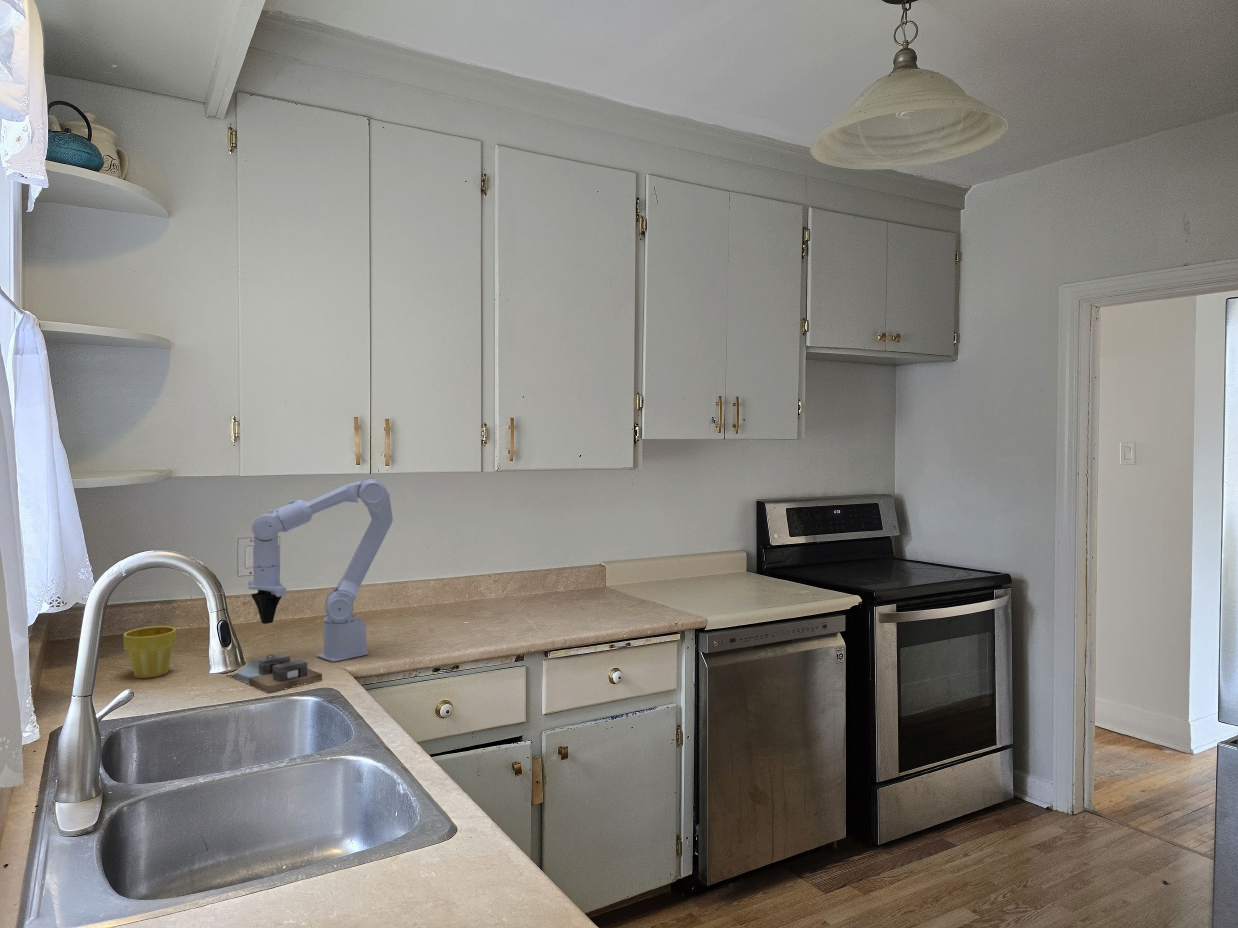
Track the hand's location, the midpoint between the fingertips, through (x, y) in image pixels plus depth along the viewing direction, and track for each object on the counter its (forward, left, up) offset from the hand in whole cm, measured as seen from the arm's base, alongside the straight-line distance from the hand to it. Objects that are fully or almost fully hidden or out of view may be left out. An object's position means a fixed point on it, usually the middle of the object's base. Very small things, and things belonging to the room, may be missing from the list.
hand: (267, 622), depth 196 cm
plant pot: (+22, -10, -10) cm, 26 cm away
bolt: (+5, +16, -8) cm, 18 cm away
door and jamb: (+5, +12, -9) cm, 16 cm away
